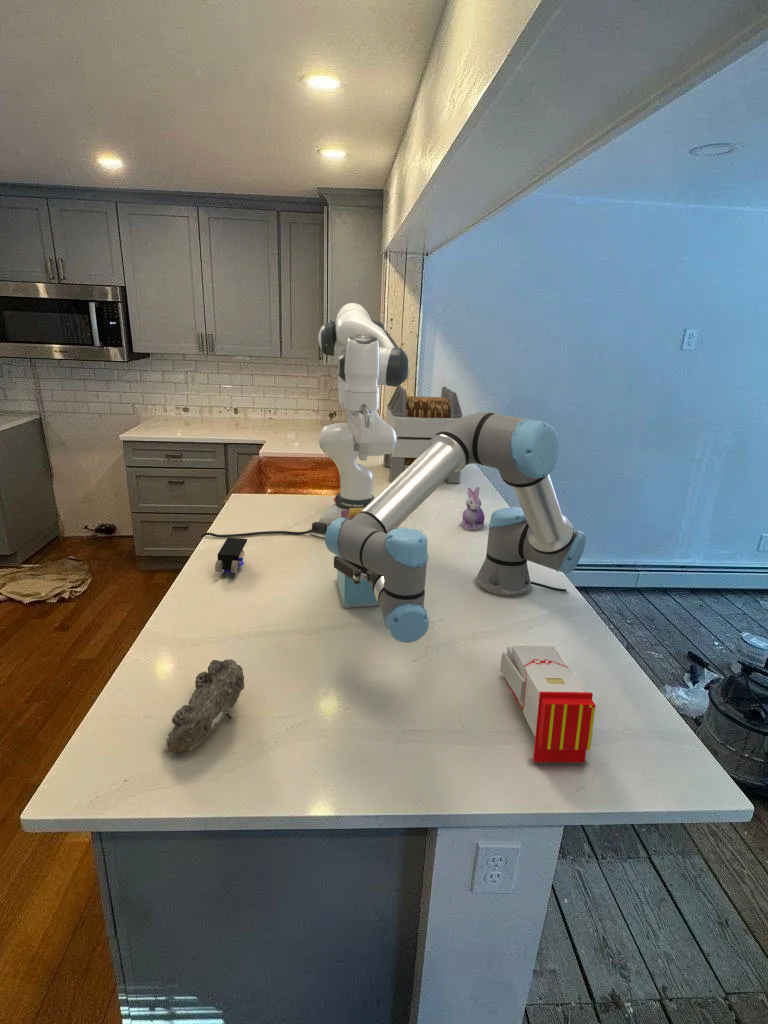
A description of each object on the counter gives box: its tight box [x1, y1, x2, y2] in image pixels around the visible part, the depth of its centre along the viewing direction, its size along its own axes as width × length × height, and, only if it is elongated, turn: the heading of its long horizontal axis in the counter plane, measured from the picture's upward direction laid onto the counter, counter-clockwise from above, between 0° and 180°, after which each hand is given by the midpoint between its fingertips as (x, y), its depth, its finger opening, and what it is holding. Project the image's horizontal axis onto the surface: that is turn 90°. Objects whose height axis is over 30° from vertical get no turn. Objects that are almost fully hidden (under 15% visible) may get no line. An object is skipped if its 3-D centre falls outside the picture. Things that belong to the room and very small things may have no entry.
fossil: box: [166, 658, 245, 754], centre depth 106 cm, size 22×10×15 cm
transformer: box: [383, 384, 463, 484], centre depth 268 cm, size 34×33×41 cm
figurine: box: [461, 486, 485, 531], centre depth 207 cm, size 9×10×15 cm
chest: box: [336, 569, 379, 609], centre depth 156 cm, size 15×10×10 cm, turn 12°
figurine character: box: [214, 537, 248, 578], centre depth 166 cm, size 7×8×15 cm
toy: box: [499, 645, 597, 764], centre depth 112 cm, size 12×13×30 cm
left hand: (359, 455), depth 148 cm, fingers open, 8 cm apart
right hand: (372, 546), depth 134 cm, fingers open, 13 cm apart
